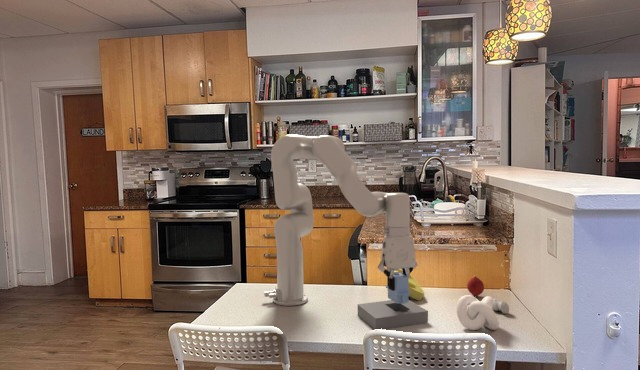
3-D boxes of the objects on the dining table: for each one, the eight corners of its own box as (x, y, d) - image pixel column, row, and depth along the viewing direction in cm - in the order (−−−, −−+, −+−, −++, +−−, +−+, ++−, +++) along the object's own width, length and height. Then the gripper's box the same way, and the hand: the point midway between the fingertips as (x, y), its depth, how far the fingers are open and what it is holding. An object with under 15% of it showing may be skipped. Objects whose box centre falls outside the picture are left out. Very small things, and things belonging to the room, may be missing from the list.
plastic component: (426, 295, 144) (401, 283, 143) (416, 312, 145) (391, 301, 144) (413, 276, 163) (392, 265, 163) (405, 291, 164) (383, 281, 164)
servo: (399, 305, 123) (399, 276, 122) (385, 296, 132) (385, 269, 131) (411, 303, 124) (411, 275, 124) (396, 294, 133) (395, 268, 132)
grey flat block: (375, 330, 118) (375, 318, 118) (357, 315, 131) (357, 304, 130) (427, 322, 124) (427, 311, 124) (405, 308, 136) (405, 298, 136)
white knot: (463, 316, 129) (464, 289, 129) (504, 324, 122) (504, 295, 122) (453, 328, 120) (453, 298, 120) (496, 337, 113) (496, 306, 113)
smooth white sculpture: (484, 311, 137) (496, 305, 138) (500, 319, 130) (513, 313, 131) (481, 299, 137) (493, 293, 138) (496, 306, 129) (509, 300, 130)
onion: (485, 295, 150) (485, 274, 149) (482, 300, 145) (482, 278, 144) (468, 293, 153) (469, 272, 152) (465, 297, 148) (465, 276, 148)
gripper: (379, 235, 121) (379, 295, 121) (427, 231, 126) (427, 289, 127) (368, 231, 128) (369, 288, 128) (414, 228, 133) (414, 282, 134)
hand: (397, 288), depth 128 cm, fingers closed on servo, 4 cm apart
